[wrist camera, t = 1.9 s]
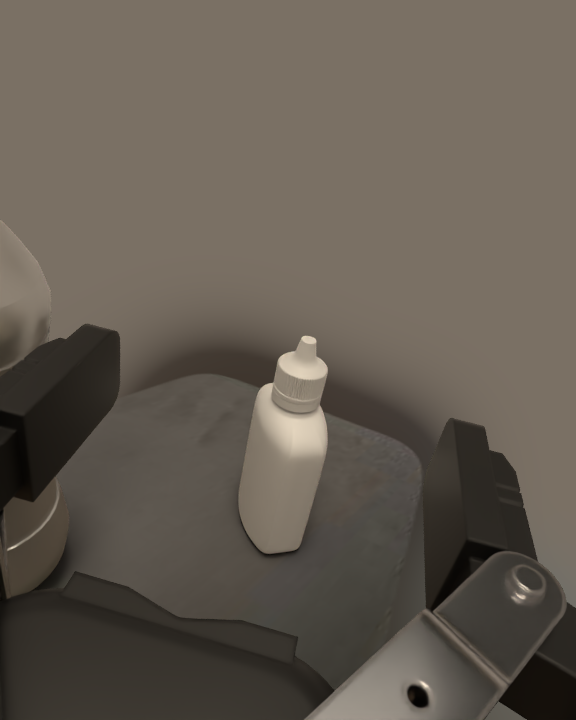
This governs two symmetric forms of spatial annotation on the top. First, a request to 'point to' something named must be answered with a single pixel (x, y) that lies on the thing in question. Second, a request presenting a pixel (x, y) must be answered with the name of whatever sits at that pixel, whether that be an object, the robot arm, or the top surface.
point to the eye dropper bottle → (285, 452)
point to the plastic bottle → (3, 351)
